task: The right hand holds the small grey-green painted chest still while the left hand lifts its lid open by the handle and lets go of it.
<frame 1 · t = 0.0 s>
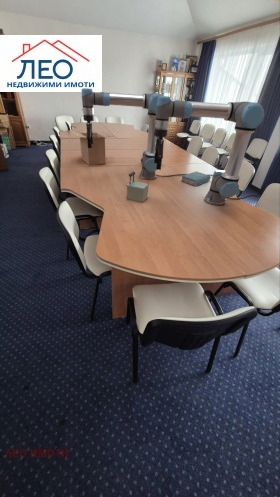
left hand: (90, 146, 173), 28 cm above the table, tool pointing down, fingers open, 13 cm apart
right hand: (157, 166, 140), 28 cm above the table, tool pointing down, fingers open, 13 cm apart
box: (93, 161, 237), on the table
laser sight: (150, 164, 240), on the table
lid: (137, 179, 158), point 14 cm above the table, hinge at 0.0°
chest: (137, 198, 166), on the table
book: (195, 181, 205), on the table
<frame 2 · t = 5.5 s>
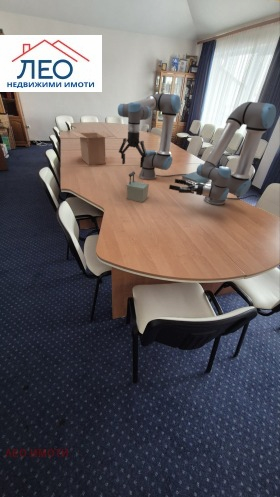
left hand: (132, 165, 154), 23 cm above the table, tool pointing down, fingers open, 13 cm apart
right hand: (172, 183, 150), 16 cm above the table, tool horizontal, fingers open, 13 cm apart
nothing on the table moved.
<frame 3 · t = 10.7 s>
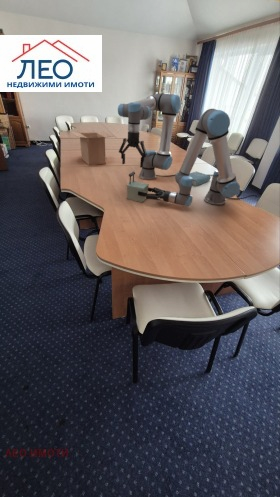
left hand: (132, 165, 154), 23 cm above the table, tool pointing down, fingers open, 13 cm apart
right hand: (140, 190, 162), 6 cm above the table, tool horizontal, fingers closed on chest, 10 cm apart
chest: (137, 198, 166), on the table, touching right hand
everything else where it was.
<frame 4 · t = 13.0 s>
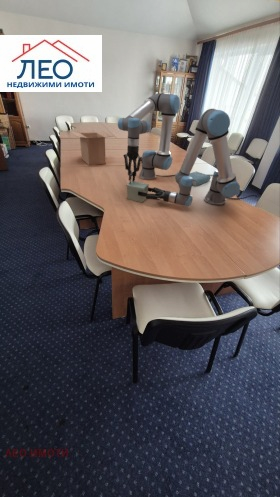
left hand: (131, 180, 160), 13 cm above the table, tool pointing down, fingers closed on lid, 2 cm apart
right hand: (140, 190, 162), 6 cm above the table, tool horizontal, fingers closed on chest, 10 cm apart
lid: (137, 179, 158), point 14 cm above the table, hinge at -0.1°, touching left hand
chest: (137, 198, 166), on the table, touching right hand
everything else where it was.
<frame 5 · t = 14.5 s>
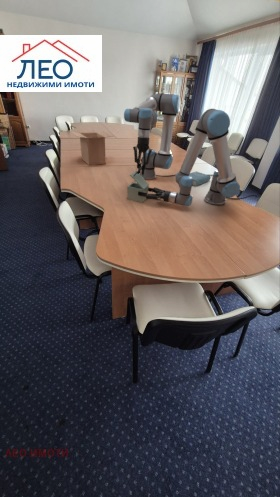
left hand: (140, 173, 155), 19 cm above the table, tool pointing down, fingers closed on lid, 2 cm apart
right hand: (141, 190, 162), 6 cm above the table, tool horizontal, fingers closed on chest, 10 cm apart
lid: (143, 176, 155), point 17 cm above the table, hinge at 37.4°, touching left hand
chest: (137, 198, 166), on the table, touching right hand
everything else where it was.
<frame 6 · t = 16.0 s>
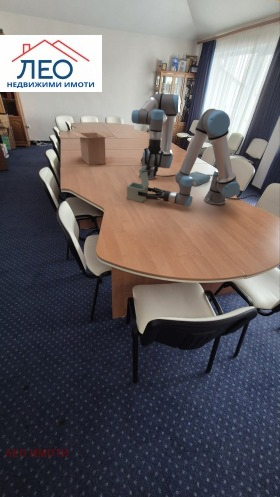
left hand: (151, 175, 153), 19 cm above the table, tool pointing down, fingers open, 4 cm apart
right hand: (140, 190, 162), 6 cm above the table, tool horizontal, fingers closed on chest, 10 cm apart
lid: (149, 176, 154), point 18 cm above the table, hinge at 72.2°
chest: (137, 198, 166), on the table, touching right hand
everything else where it was.
when the right hand's fingers open (6 cm above the table, at t = 20.1 s): chest stays where it is, on the table.
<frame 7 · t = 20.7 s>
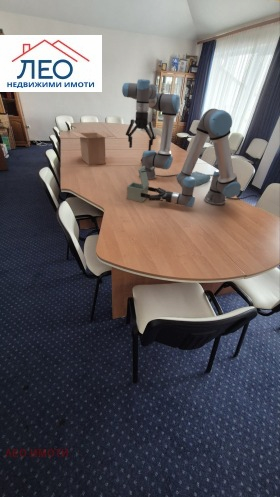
left hand: (139, 149, 146), 35 cm above the table, tool pointing down, fingers open, 13 cm apart
right hand: (144, 191, 161), 6 cm above the table, tool horizontal, fingers open, 13 cm apart
lid: (148, 176, 154), point 18 cm above the table, hinge at 71.0°
chest: (137, 198, 166), on the table
everything else where it was.
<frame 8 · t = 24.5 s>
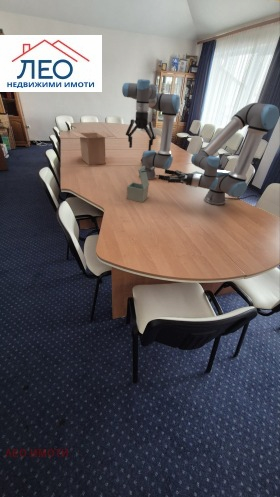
left hand: (139, 149, 146), 35 cm above the table, tool pointing down, fingers open, 13 cm apart
right hand: (161, 174, 149), 21 cm above the table, tool horizontal, fingers open, 13 cm apart
nothing on the table moved.
at the end: lid at +71° (first picture: +0°); the left hand is holding nothing; the right hand is holding nothing; chest tilted 0°; chest never tilted more than 1° during the clip; chest moved 0.1 cm from its start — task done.
